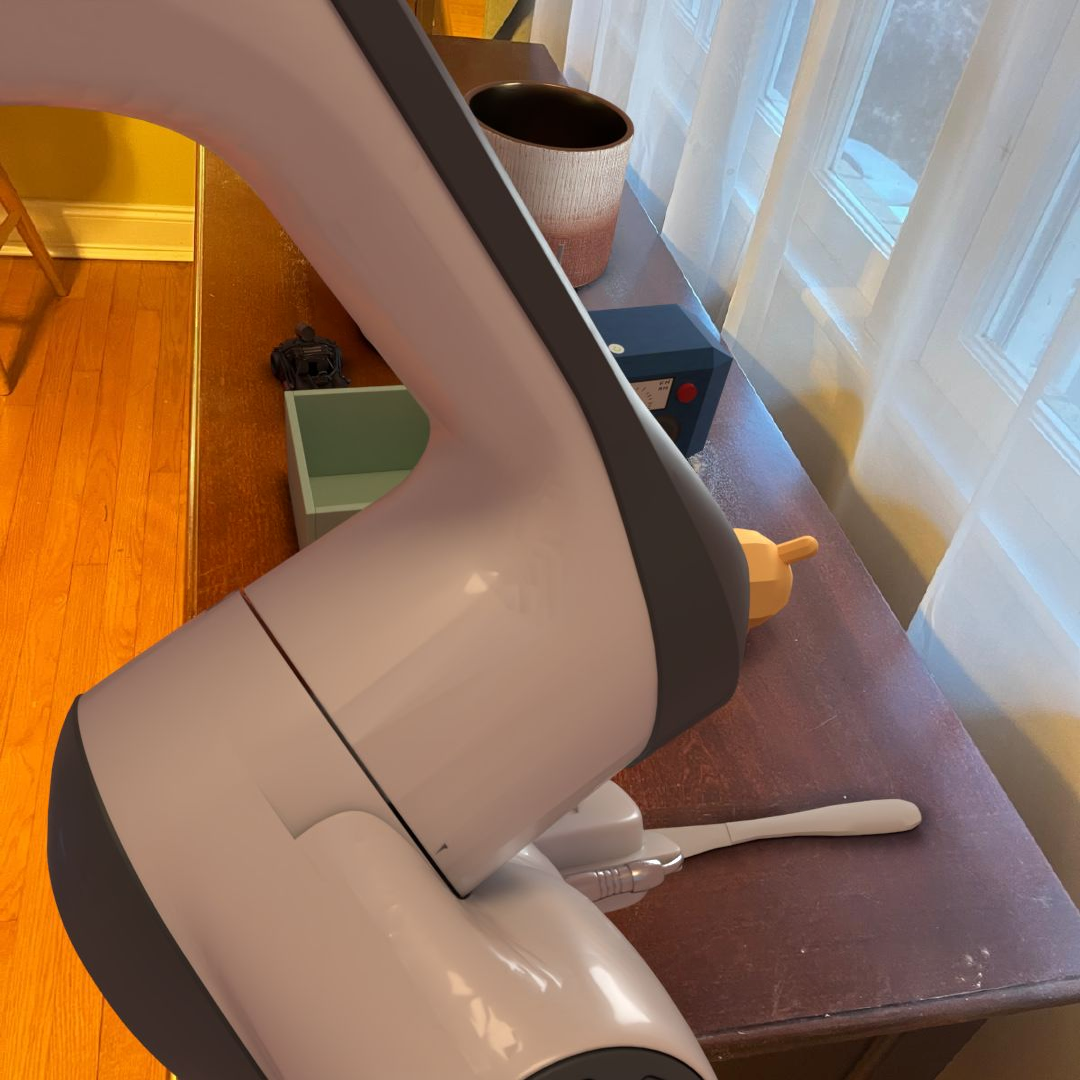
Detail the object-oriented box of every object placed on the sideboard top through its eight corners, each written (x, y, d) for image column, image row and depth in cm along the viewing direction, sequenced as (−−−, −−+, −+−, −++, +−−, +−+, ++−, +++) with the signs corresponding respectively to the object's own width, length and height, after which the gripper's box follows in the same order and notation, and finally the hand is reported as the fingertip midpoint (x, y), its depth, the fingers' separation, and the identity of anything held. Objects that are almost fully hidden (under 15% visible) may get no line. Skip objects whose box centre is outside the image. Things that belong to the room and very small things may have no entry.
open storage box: (308, 605, 69) (306, 514, 63) (288, 481, 78) (284, 390, 72) (490, 584, 73) (504, 496, 67) (451, 468, 82) (460, 381, 76)
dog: (505, 602, 72) (528, 467, 63) (754, 583, 77) (809, 456, 68) (528, 688, 67) (557, 554, 58) (794, 662, 72) (858, 535, 63)
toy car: (334, 351, 91) (334, 309, 88) (368, 430, 84) (370, 388, 81) (267, 357, 89) (264, 315, 86) (295, 439, 82) (294, 396, 79)
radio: (481, 507, 79) (512, 285, 65) (448, 439, 84) (470, 221, 71) (706, 471, 86) (777, 265, 73) (662, 411, 92) (720, 209, 78)
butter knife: (933, 837, 62) (914, 794, 64) (511, 881, 56) (504, 832, 58) (929, 841, 62) (910, 798, 64) (510, 885, 57) (502, 837, 59)
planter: (473, 303, 101) (489, 151, 90) (430, 219, 112) (440, 76, 101) (630, 295, 106) (664, 151, 96) (574, 216, 118) (598, 80, 107)
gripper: (695, 785, 37) (574, 723, 50) (106, 896, 31) (145, 793, 44) (711, 951, 37) (586, 846, 50) (127, 1094, 31) (159, 932, 44)
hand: (376, 821), depth 47 cm, fingers open, 8 cm apart
